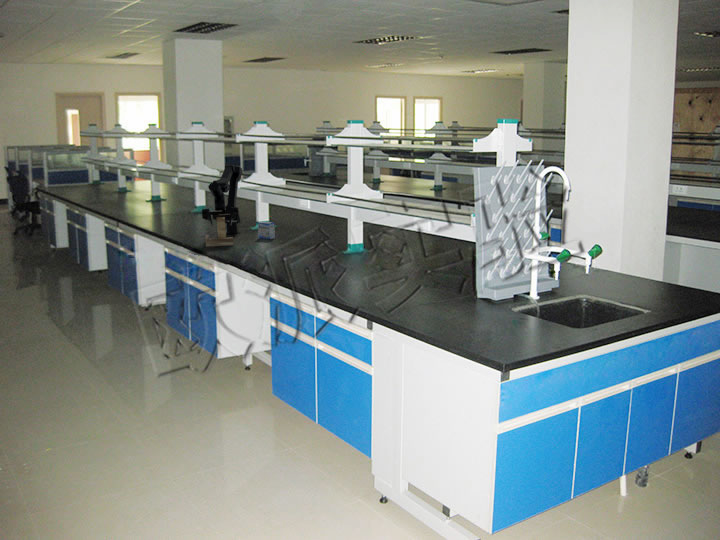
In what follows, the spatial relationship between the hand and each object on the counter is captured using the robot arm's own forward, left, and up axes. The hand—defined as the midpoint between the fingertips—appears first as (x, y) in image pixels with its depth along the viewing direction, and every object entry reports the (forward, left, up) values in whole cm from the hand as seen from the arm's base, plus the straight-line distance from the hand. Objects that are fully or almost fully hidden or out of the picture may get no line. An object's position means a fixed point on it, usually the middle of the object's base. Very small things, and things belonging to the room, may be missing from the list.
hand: (221, 226), depth 357 cm
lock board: (-1, -3, -10) cm, 10 cm away
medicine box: (-22, +12, -10) cm, 27 cm away
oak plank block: (-1, -1, -8) cm, 8 cm away
